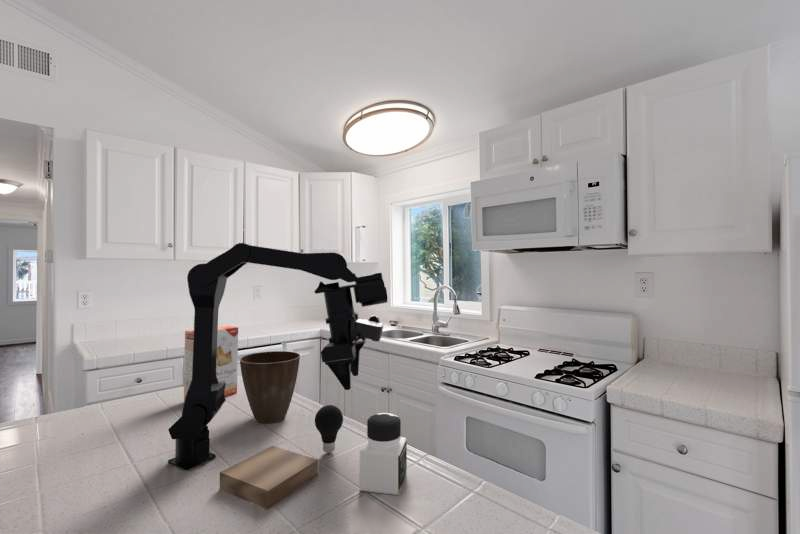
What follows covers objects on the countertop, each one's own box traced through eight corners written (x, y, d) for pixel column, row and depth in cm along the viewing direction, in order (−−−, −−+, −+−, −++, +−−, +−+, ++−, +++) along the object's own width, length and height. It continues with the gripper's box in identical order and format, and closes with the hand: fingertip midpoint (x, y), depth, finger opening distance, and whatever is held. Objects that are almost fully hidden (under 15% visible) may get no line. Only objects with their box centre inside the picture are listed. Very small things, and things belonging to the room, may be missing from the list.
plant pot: (230, 417, 103) (230, 356, 103) (284, 404, 113) (284, 348, 114) (253, 435, 92) (253, 366, 92) (310, 419, 102) (310, 357, 102)
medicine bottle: (399, 496, 68) (399, 425, 68) (359, 491, 69) (359, 422, 69) (406, 474, 75) (406, 411, 75) (370, 471, 76) (370, 408, 76)
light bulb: (348, 451, 84) (348, 404, 84) (329, 463, 79) (329, 412, 79) (328, 445, 87) (328, 399, 87) (308, 455, 82) (308, 407, 82)
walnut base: (219, 489, 70) (219, 472, 70) (272, 460, 80) (272, 445, 80) (268, 509, 64) (268, 490, 64) (318, 475, 74) (318, 459, 74)
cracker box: (194, 406, 112) (194, 332, 112) (183, 402, 115) (183, 330, 115) (238, 393, 123) (238, 326, 124) (227, 390, 127) (227, 324, 127)
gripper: (371, 311, 75) (384, 392, 76) (382, 300, 94) (392, 365, 94) (314, 320, 76) (327, 400, 76) (336, 307, 95) (346, 371, 95)
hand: (352, 382), depth 85 cm, fingers open, 9 cm apart
